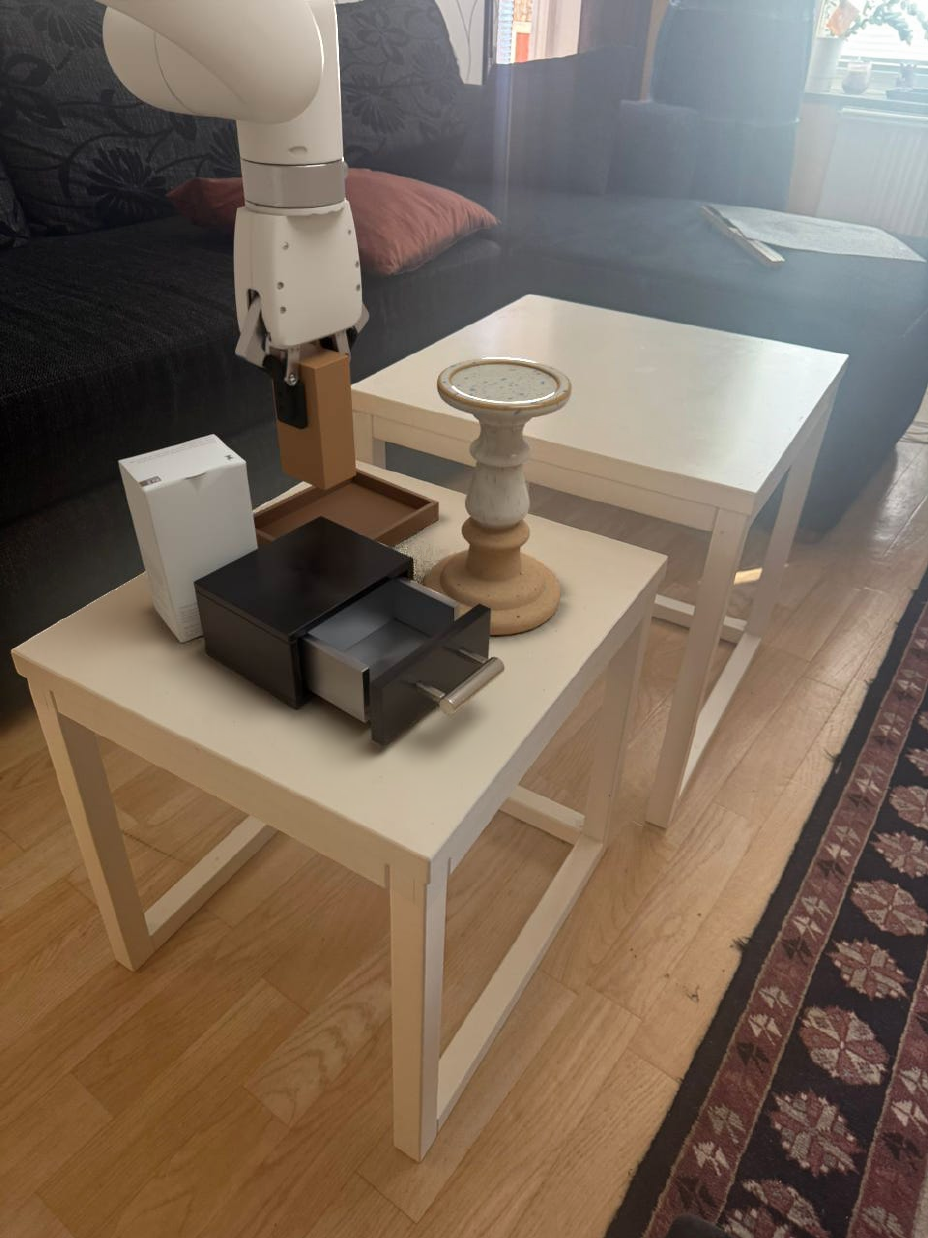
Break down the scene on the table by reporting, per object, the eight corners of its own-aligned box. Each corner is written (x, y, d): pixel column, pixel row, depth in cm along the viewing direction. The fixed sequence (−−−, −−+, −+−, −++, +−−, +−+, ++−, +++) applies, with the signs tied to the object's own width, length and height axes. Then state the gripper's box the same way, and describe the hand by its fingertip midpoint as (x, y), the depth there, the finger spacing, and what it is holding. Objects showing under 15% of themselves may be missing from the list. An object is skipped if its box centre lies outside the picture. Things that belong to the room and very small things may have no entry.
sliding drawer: (526, 681, 68) (531, 627, 64) (423, 771, 60) (424, 714, 56) (398, 617, 74) (398, 564, 71) (290, 690, 66) (284, 635, 63)
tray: (326, 586, 79) (324, 567, 78) (237, 541, 85) (234, 522, 84) (438, 519, 89) (439, 501, 88) (352, 483, 95) (352, 466, 94)
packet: (325, 490, 76) (314, 368, 70) (282, 472, 79) (268, 353, 72) (356, 475, 79) (349, 355, 72) (314, 458, 81) (303, 341, 75)
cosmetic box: (240, 582, 79) (217, 429, 70) (270, 614, 75) (250, 457, 66) (149, 613, 75) (114, 454, 66) (177, 648, 71) (143, 485, 62)
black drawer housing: (414, 628, 74) (413, 557, 70) (297, 710, 65) (288, 635, 61) (326, 583, 79) (320, 515, 75) (206, 654, 71) (192, 581, 66)
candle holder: (398, 610, 76) (394, 389, 64) (462, 547, 85) (469, 342, 73) (526, 653, 72) (547, 425, 60) (580, 581, 81) (607, 370, 69)
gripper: (337, 165, 72) (348, 378, 83) (169, 192, 61) (207, 434, 72) (405, 177, 68) (408, 399, 79) (240, 208, 58) (269, 460, 68)
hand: (312, 413), depth 76 cm, fingers closed on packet, 4 cm apart
